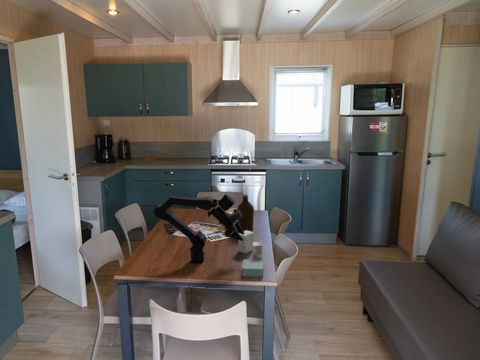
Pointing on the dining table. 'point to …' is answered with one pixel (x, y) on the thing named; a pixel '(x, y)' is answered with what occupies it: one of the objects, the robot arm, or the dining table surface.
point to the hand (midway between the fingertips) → (243, 237)
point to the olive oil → (246, 214)
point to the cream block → (257, 250)
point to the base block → (252, 268)
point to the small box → (246, 242)
